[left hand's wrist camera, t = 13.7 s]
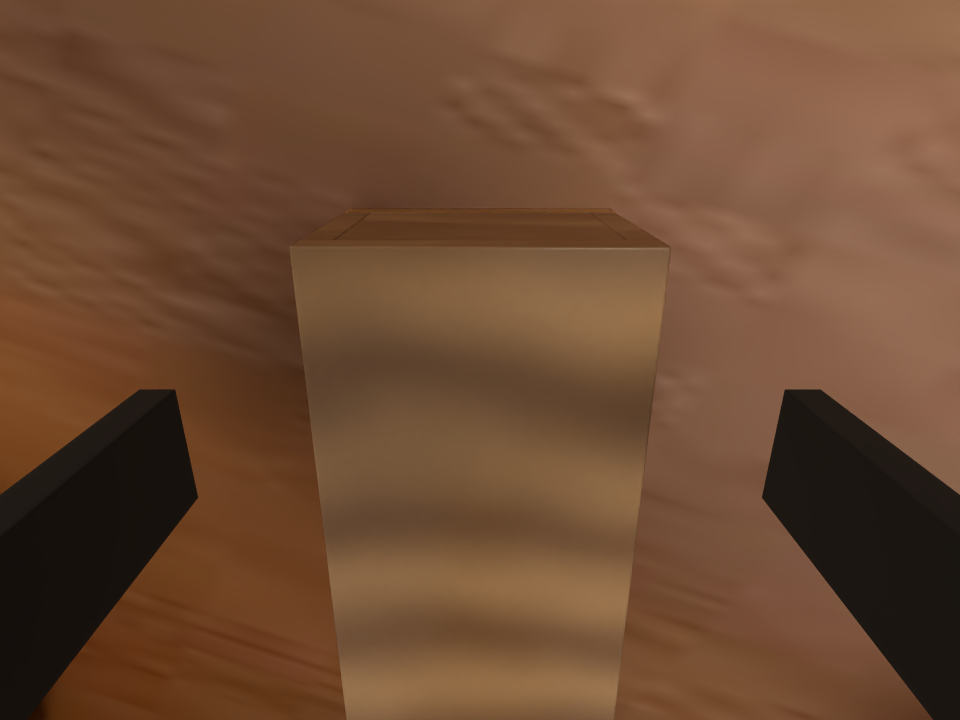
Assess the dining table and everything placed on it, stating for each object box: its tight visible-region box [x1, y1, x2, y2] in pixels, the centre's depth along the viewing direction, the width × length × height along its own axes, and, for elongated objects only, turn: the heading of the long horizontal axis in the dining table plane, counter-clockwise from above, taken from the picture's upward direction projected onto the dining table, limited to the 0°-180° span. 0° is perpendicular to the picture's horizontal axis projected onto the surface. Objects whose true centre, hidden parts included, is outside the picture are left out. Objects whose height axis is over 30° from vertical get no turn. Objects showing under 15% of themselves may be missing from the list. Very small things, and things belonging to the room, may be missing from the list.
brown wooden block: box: [289, 209, 671, 720], centre depth 24 cm, size 20×11×8 cm, turn 0°
